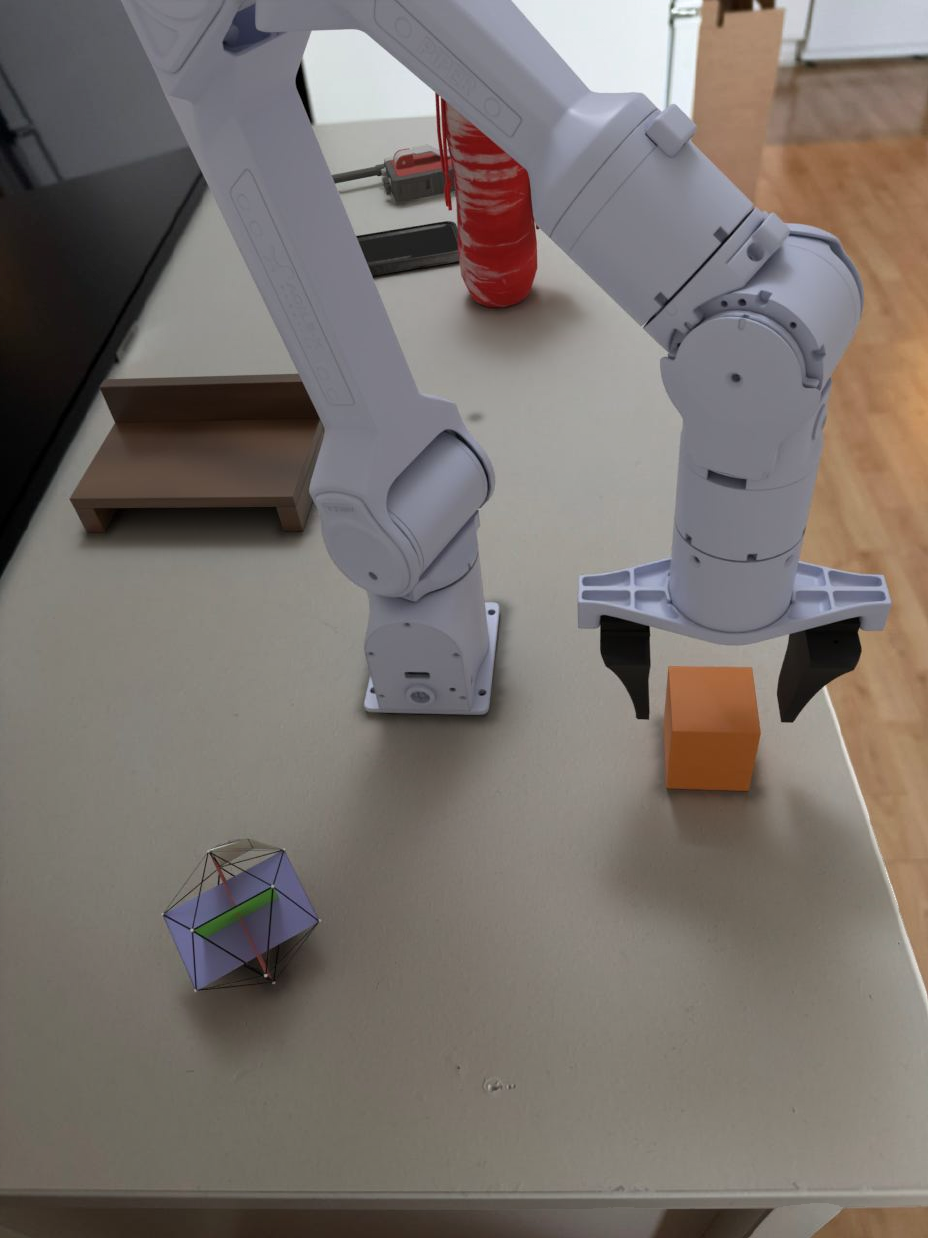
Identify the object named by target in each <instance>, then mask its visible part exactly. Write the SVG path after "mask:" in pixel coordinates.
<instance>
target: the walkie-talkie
mask: <svg viewBox="0 0 928 1238" xmlns="http://www.w3.org/2000/svg"><path fill="white" fill-rule="evenodd" d="M443 155H444V151H443ZM447 155H448V168H449V177H450V179H451V181H452V183H453V184H452V186H451V187H450V191H451V193H453V192H455V184H454V175H453V168H452V163H451V158H450V153H449V148H447ZM383 161H384V162H383V163H380V164H375V166H370V167H366V168H361V169H356V170H350V171H345V172H340V173H335V174H331V175H332V178H333V180H334V183H335V185H336V184H340V183H345V182H351V181H356V180H360V179H366V178H370V177H375V176H376V177H381V181H382V184H383V187H384V193H385V195H386V196H391V195H392V197H393V199H394V201H395V202H398V203H399V202H400V203H402V202H408V201H412V200H417V199H423V198H427V197H432V196H438V195H442V194H443V195H444V187H445V184H446V177H445V175H444V173H443V171H442V167H441V159H440V151H439V148H435V147H433V146H431V145H429V144H423V145H418V146H413V147H412V148H409V147H408V148H407V147H406V148H403V149H398V150H397V151H396V152H394V154H393V156H387V157H384V158H383Z"/></svg>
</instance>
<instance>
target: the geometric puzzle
mask: <svg viewBox="0 0 928 1238" xmlns="http://www.w3.org/2000/svg"><path fill="white" fill-rule="evenodd" d="M256 849H257V850H256ZM264 850H275V851H273V852H272V851H271V852H268V853H265V854H262V855H257V856H255V857H251V858H247V859H242V860H239V861H236V862H232V861H234V860H235V859H237V858H239V857H241V856H243V855H244V854H246V853H248V852H253V851H255V852H257V851H259V852H260V851H264ZM273 854H274V855H273ZM269 855H272V856H269ZM265 856H269V857H267V858H266V859H264V860H262V861H260V862H258V863H257V864H254V865H252V866H251V867H249V868H247V869H245V870H244V869H243V868H241V867H239V866H238V865H236V864H239V863H242V862H246V861H249V860H254V859H258V858H261V857H265ZM208 857H210V858H211V860H212V863H213V864H214V867H215V870H214V871H213V872H211V873H210V874H209V875H208V876H207V877H206V878H204V877H205V873H206V868H207V862H208V860H209V859H208ZM204 859H205V862H204V868H203V872H202V877H201V881H200V882H199V883H198V884H197V885H195V887H193V888H192V889H191V890H190V891H188V893H186V894H185V895H184V896H183V897H181V898H180V899H179V900H178V901H176V902H175V903H174V904H173V905H172V906H171V904H172V903H173V902H174V900H175V898H176V897H177V896H178V895H179V894H180V892H181V890H182V889H183V888H184V886H185V885H186V884H187V883H188V881H189V879H190V878H191V877H192V875H193V874H194V872H195V871H196V870H197V868H198V867H199V866H200V864H201V863H202V861H203V860H204ZM227 866H233V867H235V868H236V869H238V870H240V871H241V872H240V873H238V874H236V875H235V874H233V873H232V872H230V871H228V870H227V869H225V868H224V867H227ZM216 872H217V873H218V875H217V885H215V886H213V887H212V888H209V889H208V890H206V891H203V892H202V888H203V883H204V882H205V881H206V880H208V879H209V878H210V877H211V876H213V874H215V873H216ZM223 872H225V873H227V874H229V875H230V876H232V877H230V878H228V879H226V877H225V874H224V873H223ZM220 881H221V883H220ZM199 886H200V888H199V890H198V891H199V892H198V895H197V896H194V897H192V898H191V899H188V900H187V901H185V902H184V903H181V904H179V903H180V902H181V901H182V900H184V898H186V897H187V896H189V894H191V893H192V892H193V891H194V890H196V889H197V888H198V887H199ZM177 904H179V905H178V906H176V905H177ZM170 906H171V907H170ZM175 906H176V907H175ZM160 916H162V917H163V920H164V921H165V924H166V926H167V928H168V930H169V933H170V935H171V938H172V940H173V942H174V944H175V946H176V950H177V951H178V953H179V956H180V958H181V961H182V963H183V965H184V967H185V969H186V972H187V974H188V976H189V978H190V981H191V983H192V985H193V988H194V989H193V992H194V993H197V992H200V991H209V990H220V989H227V988H236V987H245V986H246V987H247V986H254V985H255V986H256V985H265V984H272V985H275V984H276V980H277V979H278V978H279V976H280V975H281V974H282V972H283V971H284V970H285V969H286V967H287V966H288V964H290V962H291V960H292V959H293V958H294V956H295V955H296V954H297V952H298V951H299V949H301V947H302V946H303V945H304V943H305V941H306V940H307V939H308V938H309V936H310V935H311V934H312V932H313V931H314V930H315V929H316V927H317V926H318V924H320V923H321V922H322V919H320V918H319V917H318V915H317V913H316V911H315V909H314V907H313V904H312V902H311V901H310V899H309V897H308V895H307V893H306V890H305V888H304V887H303V885H302V883H301V881H300V878H299V877H298V875H297V873H296V870H295V868H294V867H293V864H292V862H291V861H290V858H289V857H288V854H287V852H286V848H285V847H283V848H280V847H276V846H274V845H270V844H267V843H264V842H260V841H257V840H254V839H250V838H240V839H239V838H238V839H237V838H236V839H229V840H226V841H224V842H222V843H220V844H218V845H215V846H214V847H212V848H209V849H208V850H206V854H205V855H204V857H203V858H202V859H201V861H200V862H199V863H198V865H197V867H196V868H195V869H194V870H193V872H192V873H191V874H190V876H189V877H188V879H187V880H186V881H185V883H183V886H182V887H181V888H180V890H178V893H177V894H176V895H175V897H174V898H173V899H172V901H171V902H170V904H169V905H168V906H167V908H166V909H165V910H164V912H162V913H161V914H160ZM310 927H311V928H310ZM309 928H310V929H309ZM307 929H309V930H308V931H307V932H306V933H305V934H304V935H303V936H302V937H301V938H300V939H299V940H298V941H297V942H296V943H295V945H293V946H292V947H291V948H290V950H289V951H288V952H286V954H284V956H283V957H282V958H281V959H279V952H280V946H281V944H282V943H284V942H286V941H288V940H290V939H291V938H293V937H294V936H296V935H298V934H300V933H302V932H303V931H305V930H307ZM306 936H307V937H306ZM304 938H305V939H304ZM303 939H304V940H303ZM302 940H303V942H302ZM300 942H302V943H301V944H300V946H299V947H298V949H297V950H296V951H295V953H294V954H293V955H292V957H291V958H290V959H289V961H288V962H287V963H286V964H285V966H284V967H283V968H282V970H281V971H280V972H279V973H278V975H277V976H276V974H277V967H278V964H280V962H282V961H283V959H284V958H286V956H287V955H289V954H290V953H291V952H292V950H293V949H295V947H296V946H298V944H299V943H300ZM275 947H277V948H276V949H277V950H276V956H275V962H274V963H275V964H274V966H273V967H272V968H271V969H270V970H269V969H268V968H269V967H268V965H269V956H270V955H269V954H270V950H272V949H273V948H275ZM265 953H266V958H265V959H266V960H265V961H264V958H263V956H262V955H263V954H265ZM255 958H257V959H258V961H259V964H260V966H261V967H262V970H263V971H261V970H260V969H259V968H257V967H255V966H254V965H251V964H250V963H248V962H250V961H252V960H253V959H255ZM278 959H279V960H278ZM241 966H243V967H245V968H246V969H248V970H249V971H251V972H254V973H255V974H257V975H258V976H254V977H253V976H252V977H249V978H244V979H239V980H235V981H231V982H226V983H221V984H217V985H213V986H208V987H206V986H207V985H209V984H211V983H213V982H215V981H216V980H218V979H220V978H222V977H224V976H225V975H227V974H229V973H231V972H232V971H235V970H236V969H237V968H240V967H241ZM272 971H273V977H272V974H271V972H272ZM258 978H264V979H265V980H267V981H266V982H257V983H249V984H248V983H247V984H239V985H232V986H231V985H230V984H235V983H240V982H244V981H247V980H248V981H250V980H254V979H258ZM225 985H230V986H225Z"/></svg>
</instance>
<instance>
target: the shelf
mask: <svg viewBox="0 0 928 1238" xmlns="http://www.w3.org/2000/svg"><path fill="white" fill-rule="evenodd" d="M99 389H100V392H101V394H102V396H103V398H104V401H105V403H106V406H107V408H108V411H109V412H110V415H111V417H112V419H113V422H114V424H113V425H112V427H111V429H109V432H108V434H107V435H106V437H105V439H104V440H103V442H102V443H101V445H100V447H99V448H98V450H97V452H96V453H95V455H94V457H93V459H92V460H91V462H90V464H89V465H88V467H87V468H86V471H85V472H84V474H83V475H82V477H81V478H80V480H79V482H78V483H77V485H76V487H75V489H74V490H73V492H72V494H71V495H70V497H69V501H70V503H71V505H72V507H73V509H74V511H75V513H76V515H77V517H78V518H79V520H80V522H81V524H82V526H83V528H84V530H85V533H106V530H107V529H108V528H109V526H110V524H111V521H112V520H113V518H114V516H115V514H116V512H117V511H118V509H162V508H164V509H167V508H169V509H171V508H176V509H177V508H179V509H180V508H181V509H182V508H276V511H277V515H278V518H279V521H280V525H281V527H282V530H283V532H304V529H305V526H306V524H307V520H308V517H309V514H310V510H311V507H312V504H313V503H314V501H313V499H312V497H311V495H310V493H309V487H310V483H311V479H312V475H313V472H314V468H315V465H316V462H317V458H318V455H319V452H320V448H321V445H322V442H323V438H324V433H325V428H324V426H323V424H322V421H321V419H320V417H319V415H318V413H317V411H316V409H315V407H314V405H313V403H312V401H311V399H310V396H309V394H308V392H307V390H306V388H305V386H304V384H303V382H302V380H301V378H300V376H299V374H298V373H273V374H272V373H271V374H269V373H268V374H241V375H240V374H239V375H238V374H237V375H208V376H207V375H206V376H171V377H139V378H137V377H135V378H132V377H131V378H105V379H104V380H103V381H101V384H100V385H99Z"/></svg>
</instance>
